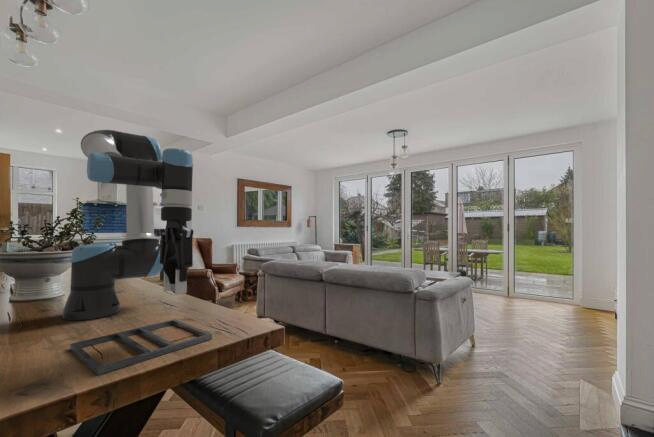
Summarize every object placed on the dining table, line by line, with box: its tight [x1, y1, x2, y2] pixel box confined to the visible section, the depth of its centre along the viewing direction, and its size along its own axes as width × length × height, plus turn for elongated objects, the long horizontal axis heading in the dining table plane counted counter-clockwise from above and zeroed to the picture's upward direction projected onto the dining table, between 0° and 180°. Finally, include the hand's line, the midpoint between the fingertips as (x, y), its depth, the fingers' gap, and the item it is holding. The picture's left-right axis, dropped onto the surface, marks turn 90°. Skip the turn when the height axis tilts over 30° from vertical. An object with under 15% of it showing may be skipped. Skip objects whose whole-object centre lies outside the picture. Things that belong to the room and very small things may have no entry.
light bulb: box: [162, 255, 178, 294], centre depth 83 cm, size 6×6×10 cm
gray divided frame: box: [69, 318, 213, 376], centre depth 77 cm, size 20×25×1 cm
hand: (174, 291), depth 82 cm, fingers closed on light bulb, 6 cm apart
